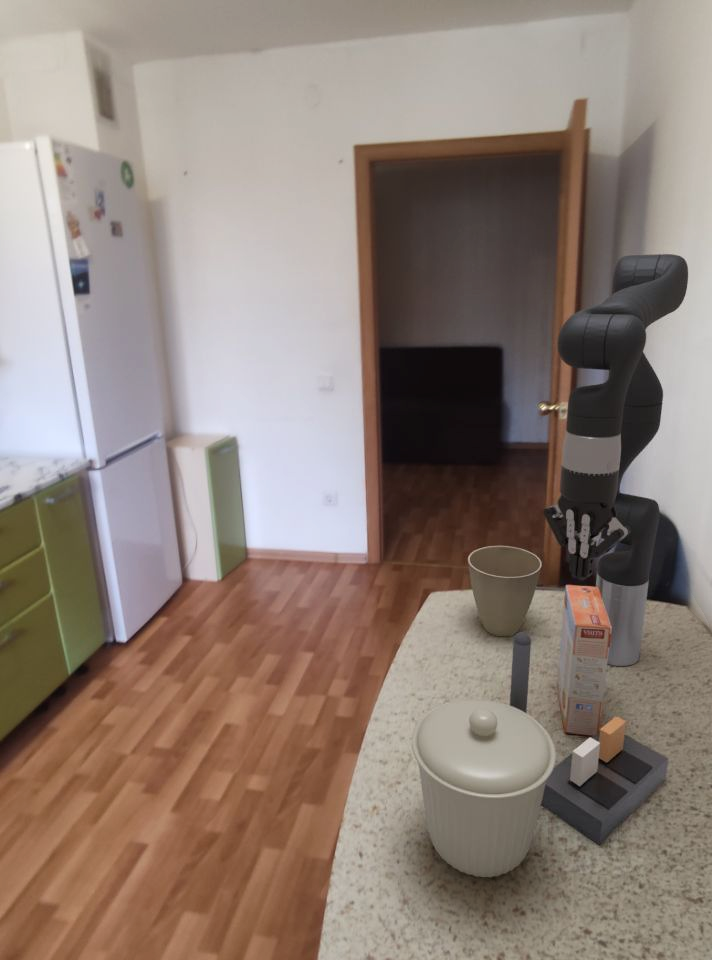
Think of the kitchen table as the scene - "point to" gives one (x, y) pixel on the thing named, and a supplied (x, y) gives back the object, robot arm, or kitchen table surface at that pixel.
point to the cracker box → (583, 659)
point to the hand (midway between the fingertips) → (580, 576)
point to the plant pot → (503, 586)
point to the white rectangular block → (584, 761)
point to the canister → (482, 782)
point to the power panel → (605, 789)
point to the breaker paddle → (611, 738)
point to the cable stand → (520, 671)
